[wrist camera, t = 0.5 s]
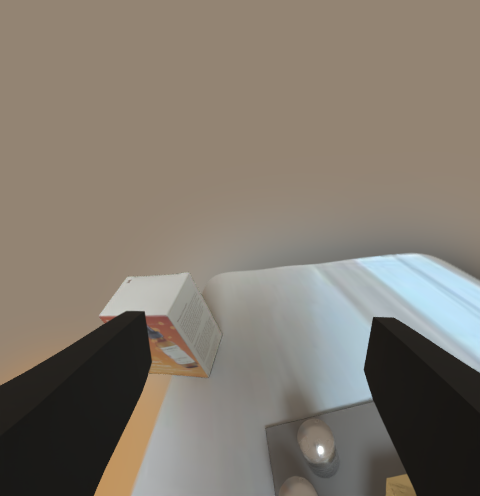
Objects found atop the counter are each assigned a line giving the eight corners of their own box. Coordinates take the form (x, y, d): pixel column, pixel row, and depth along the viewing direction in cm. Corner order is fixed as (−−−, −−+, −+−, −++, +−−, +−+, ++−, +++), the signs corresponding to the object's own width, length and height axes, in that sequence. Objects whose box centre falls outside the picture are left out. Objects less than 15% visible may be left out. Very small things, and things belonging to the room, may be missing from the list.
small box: (148, 374, 33) (95, 316, 27) (168, 333, 37) (125, 275, 31) (210, 379, 30) (166, 315, 24) (224, 334, 34) (189, 270, 28)
